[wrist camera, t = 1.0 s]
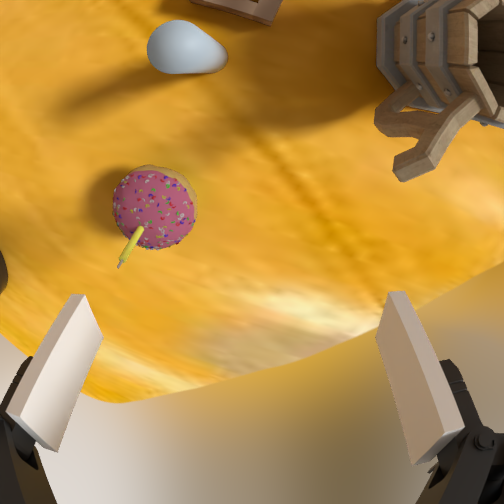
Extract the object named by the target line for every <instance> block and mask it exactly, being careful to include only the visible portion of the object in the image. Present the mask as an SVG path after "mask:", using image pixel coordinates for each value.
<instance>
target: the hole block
mask: <svg viewBox="0 0 504 504" xmlns="http://www.w3.org/2000/svg"><path fill="white" fill-rule="evenodd" d="M189 1H190V2H191V3H195V4H199V5H203V6H207V7H211V8H214V9H218V10H221V11H225V12H228V13H232V14H235V15H238V16H241V17H244V18H248V19H251V20H254V21H256V22H259V23H262V24H265V25H268V26H271V24H272V22H273V20H274V18H275V15H276V13H277V11H278V9H279V7H280V5H281V3H282V1H283V0H259V2H258V3H256V2H253V1H250V0H189Z"/></svg>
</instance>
